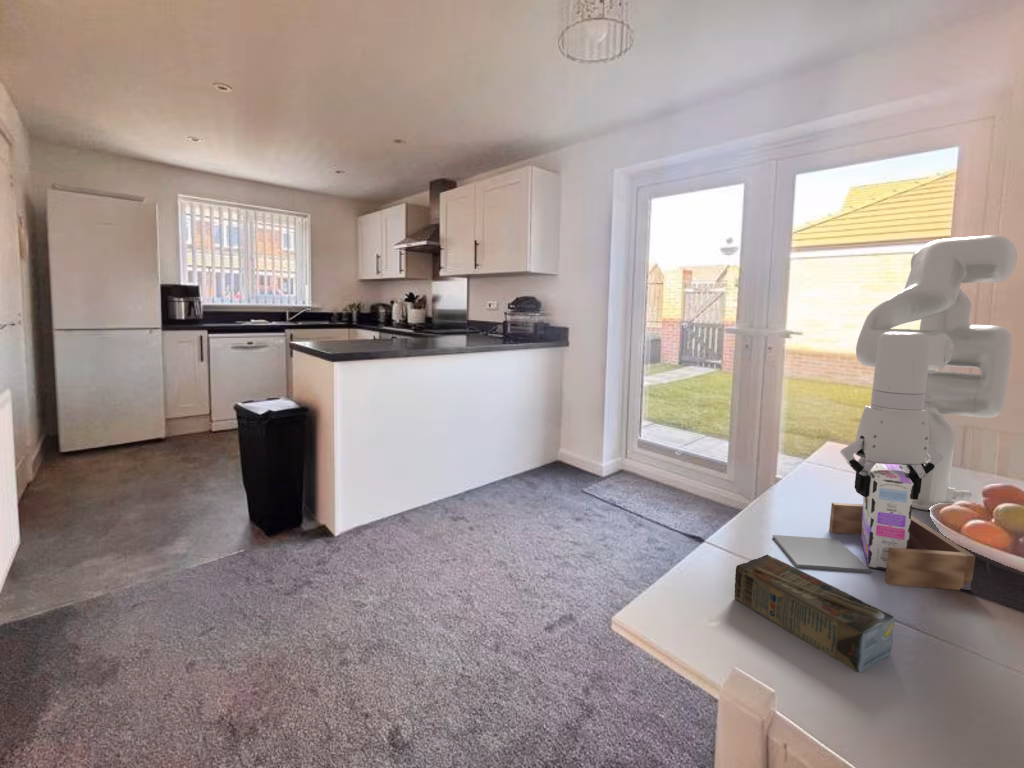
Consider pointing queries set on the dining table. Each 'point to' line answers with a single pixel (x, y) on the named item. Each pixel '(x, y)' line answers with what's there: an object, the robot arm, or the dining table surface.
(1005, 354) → the robot arm
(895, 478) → the candy box
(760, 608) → the beverage carton
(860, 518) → the bracket
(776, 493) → the dining table surface
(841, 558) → the mat
